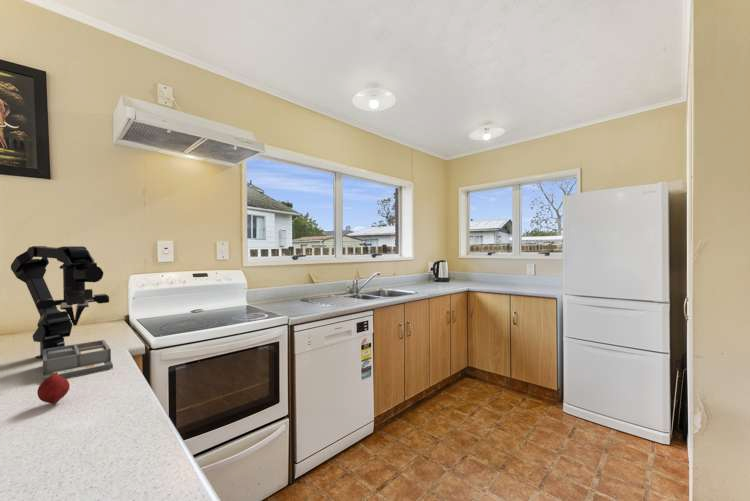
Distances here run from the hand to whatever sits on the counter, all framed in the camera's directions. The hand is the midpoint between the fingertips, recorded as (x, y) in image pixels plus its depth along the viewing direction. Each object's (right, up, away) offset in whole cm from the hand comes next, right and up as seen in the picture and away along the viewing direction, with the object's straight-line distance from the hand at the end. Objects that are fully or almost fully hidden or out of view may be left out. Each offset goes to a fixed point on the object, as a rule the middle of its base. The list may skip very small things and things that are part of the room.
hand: (75, 325), depth 117 cm
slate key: (+1, -9, -7) cm, 11 cm away
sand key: (+12, -9, -6) cm, 16 cm away
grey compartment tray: (+8, -12, -8) cm, 17 cm away
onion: (+25, -13, -33) cm, 43 cm away
